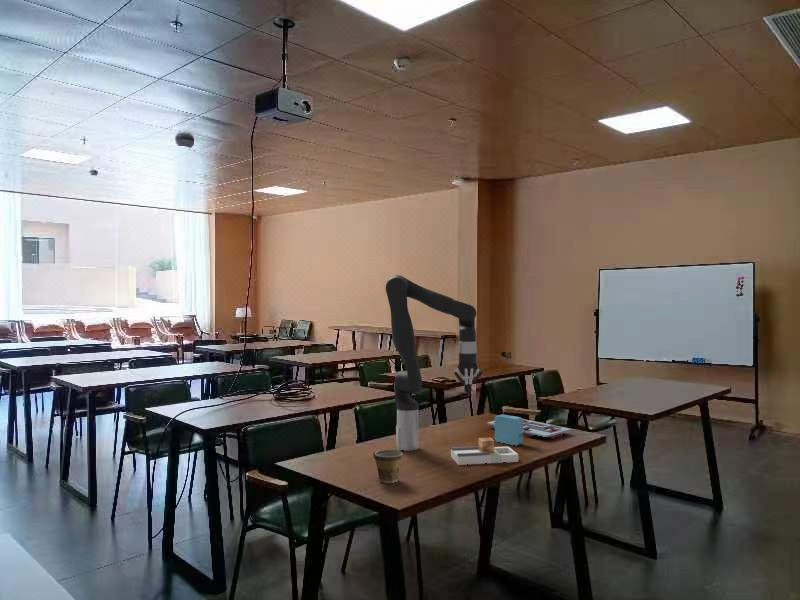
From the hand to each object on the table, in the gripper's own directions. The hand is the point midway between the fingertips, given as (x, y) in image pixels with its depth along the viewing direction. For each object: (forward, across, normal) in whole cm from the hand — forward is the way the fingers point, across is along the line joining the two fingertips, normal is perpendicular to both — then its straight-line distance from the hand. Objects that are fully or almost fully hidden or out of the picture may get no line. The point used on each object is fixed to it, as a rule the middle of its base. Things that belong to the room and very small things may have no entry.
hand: (467, 393), depth 245 cm
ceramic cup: (+25, -39, -29) cm, 55 cm away
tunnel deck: (+25, +4, -10) cm, 27 cm away
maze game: (+26, +39, +31) cm, 56 cm away
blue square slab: (+26, +22, +12) cm, 36 cm away
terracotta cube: (+22, +5, -10) cm, 25 cm away
